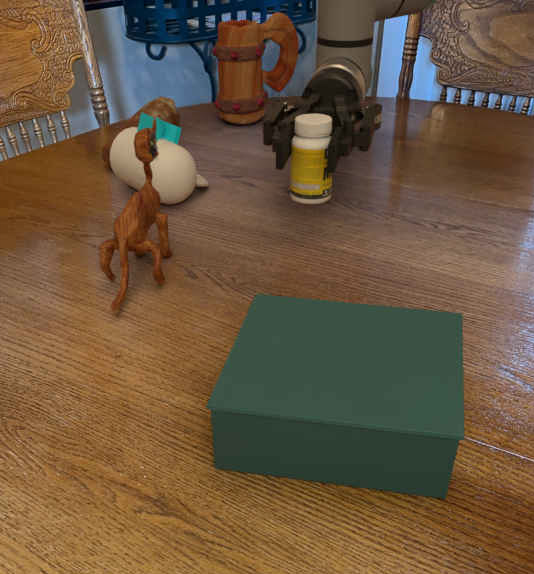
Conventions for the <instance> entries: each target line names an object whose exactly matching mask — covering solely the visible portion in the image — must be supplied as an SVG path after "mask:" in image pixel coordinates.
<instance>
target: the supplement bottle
mask: <svg viewBox="0 0 534 574" xmlns="http://www.w3.org/2000/svg"><path fill="white" fill-rule="evenodd" d="M331 132H332V118H331V117H330V116H328V115H324V114H303V115H299V116H297V117H296V118H295V133H296V134H297V135H295V136H294V137H293V138H292V141H291V155H290V186H289V187H290V188H289V189H290V191H289V194H290V198H291V200H293V201H294V202H296V203H299V204H305V205H317V204H323V203H326V202H328V201H329V200H330V199H331V198H332V188H333V173H327V157H328V144H329V142H330V139H331V136H330V134H331Z"/></svg>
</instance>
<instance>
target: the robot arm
mask: <svg viewBox="0 0 534 574" xmlns="http://www.w3.org/2000/svg"><path fill="white" fill-rule="evenodd" d="M438 1H439V0H317V21H316V22H317V23H316V28H317V29H316V43H315V44H316V47H315V49H316V50H315V70H314V72H313V74H312V75H311V77H310V79H309V80H308V82H307V84H306V85H305V87H304V89H303V91H302V93H301V96H300V98H299V99H296V100H295V101H294V102H293V105H289V103H288V101H283V100H282V99H280V98H275V99H272V101H271V103H272V104H271V109H270V110H269V111H268V113H267V115H266V116H265V117H264V118H263V120H262V144H263V146H267V147H270V146H271V152H272V153H275V170H279V171H281V170H282V171H284V169H285V166H286V165H287V164H288V161H289V159H290V158H291V141H292V138H293V137H294V136H295V135H297V134H296V133H295V118H296V117H297V116H299V115H303V114H324V115H328V116H330V117H331V118H332V132H331V134H330V136H331V139H330V142H329V144H328V157H327V173H332V174H334V173H335V171H336V169H337V166H338V163H339V160H340V158H341V157H342V158H343V157H345V158H347V157H349V156H350V155H351V152H352V151H353V148H357V149H358V151H360V152H363V153H365V152H367V151H369V150H370V148H371V144H372V140H373V137H374V134H375V132H376V131H377V130H380V129H381V125H382V116H383V115H382V113H383V104H380V103H374V104H372V105H365V106H363V104H364V103H365V98H366V96H367V94H368V93H369V90H370V88H371V85H372V81H373V66H372V56H373V43H374V32H375V23H377V22H382V21H385V20H390V19H395V18H400V17H405V16H413V15H416V14H419V13H421V12H423V11H425V10H427V9H430V8H431V7H433V6H434V5H435V4H436V3H437V2H438ZM363 107H364V108H363ZM359 123H360V125H359V129H355V125H357V124H359Z"/></svg>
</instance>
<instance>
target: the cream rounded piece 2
mask: <svg viewBox="0 0 534 574" xmlns="http://www.w3.org/2000/svg"><path fill="white" fill-rule="evenodd" d="M153 119H154V117H152V116H149V115H147V114H145V113H142V112H141V116H140V120H139V125H138V127H131V128H127V129H125V130H123V131H122V132H121V133H119V134H118V135H117V137H116V138H115V140H114V141H113V144H112V147H111V149H110V163H111V167H110V168H111V170H112V172H113V174H114V175H115V176H116V177H117V179H119V181H120V182H122V183H124V184H125V185H128V186H130V187H132V188H133V189H135V190H137V191H139V190H140V189H141V188H142V187H143V186H144V184H145V181H146V176H145V172H144V168H143V166H144V164H143V162H141V161H139V160H138V158H137V157H136V155H135V149H134V138H135V134H136V133H137V132H138V131H139V130H141V129H144V128H146V127H148V128H152V126H153ZM155 119H156V139H157V142H156V145H157V151H158V153H159V154H158V160H155V159H154V160H153V162H151V163H150V167H151V170H152V174H153V177H152V186H153V187H154V188H155V189H156V190H157V191H158V192H159V194H160V198H161V199H160V204H161V203H162V204H164V205H176V204H179V203H181V202H183V201H185V200H186V199H187V198H189V197H190V196H191V194H192V193H193V191H194V189H195V187H196V188H207V187H208V186H209V182H208V180H207V179H206V178H205V177H203V176H202V175H200V174H199V173H198V170H197V169H198V168H197V165H196V162H195V159H194V158H193V156H192V155H191V153H190V152H189V151H188V150H187V149H185V148H184V147H183V146H182V145H179V141H180V136H181V134H182V127H180V126H179V127H178V126H175V125H172V124H170V123H167V122H165V121H162V120H161V118H155Z"/></svg>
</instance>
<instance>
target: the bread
mask: <svg viewBox="0 0 534 574" xmlns="http://www.w3.org/2000/svg"><path fill="white" fill-rule="evenodd" d="M141 112H142V113H145V114H147V115H149V116H152V117H154V118H161V120H162V121H165V122H167V123H170V124H172V125H175V126H178V127H180V122H181V116H180V114H179V111H178V109H177V107H176V102H175V100H174V99H172V98H171V97H170V98H169V97H167V96H158V97H156V98H153V99H152V100H150V101H148V102H146V103H145V104H144V105H143V106H141V108H140V109H139V110H137V111H136V112H135V113H134V114H133V115H132V116H131V117H130V118H129V119H127V120H126V121H125V122H124V124H123V125H122V126H121V127H119V129H118V130H116V132H114V134H113V135H112V136H110V138H109V139H108V140H107V141H106V142H105V144H104V145H102V148H101V159H102V161H104V163H105V165H107V166H108V167H109V168H111V163H110V149H111V147H112V144H113V141H114V140H115V138H116V137H117V135H118V134H119V133H121V132H122V131H123V130H125V129H127V128H131V127H138V125H139V120H140V116H141Z"/></svg>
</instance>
